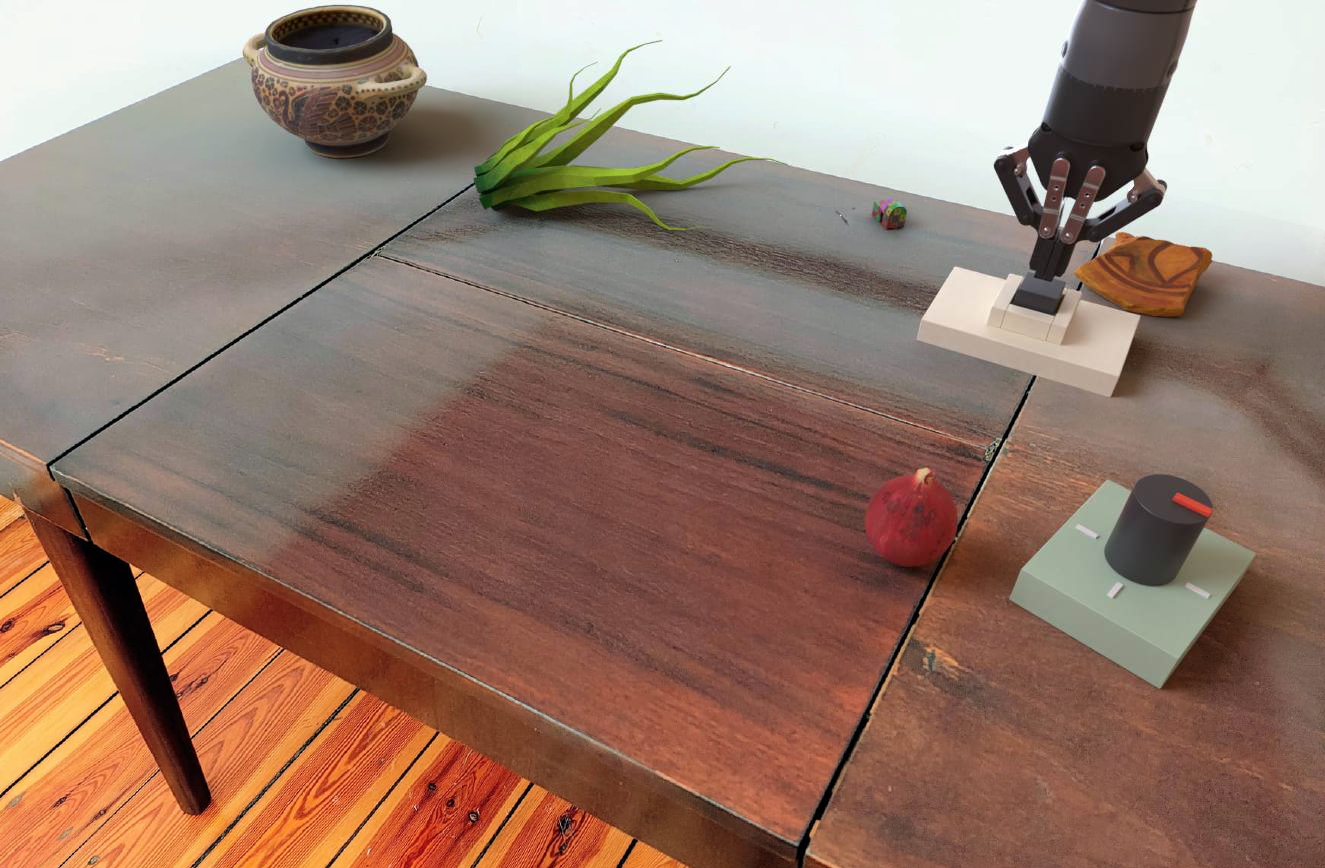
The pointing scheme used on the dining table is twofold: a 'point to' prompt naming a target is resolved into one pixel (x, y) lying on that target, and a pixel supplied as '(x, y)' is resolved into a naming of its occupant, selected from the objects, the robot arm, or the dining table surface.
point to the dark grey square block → (1039, 294)
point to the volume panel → (1127, 591)
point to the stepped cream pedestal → (1030, 331)
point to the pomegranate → (911, 519)
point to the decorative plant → (536, 179)
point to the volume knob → (1157, 529)
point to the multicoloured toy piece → (889, 213)
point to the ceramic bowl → (334, 77)
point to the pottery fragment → (1146, 274)
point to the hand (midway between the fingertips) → (1044, 275)
